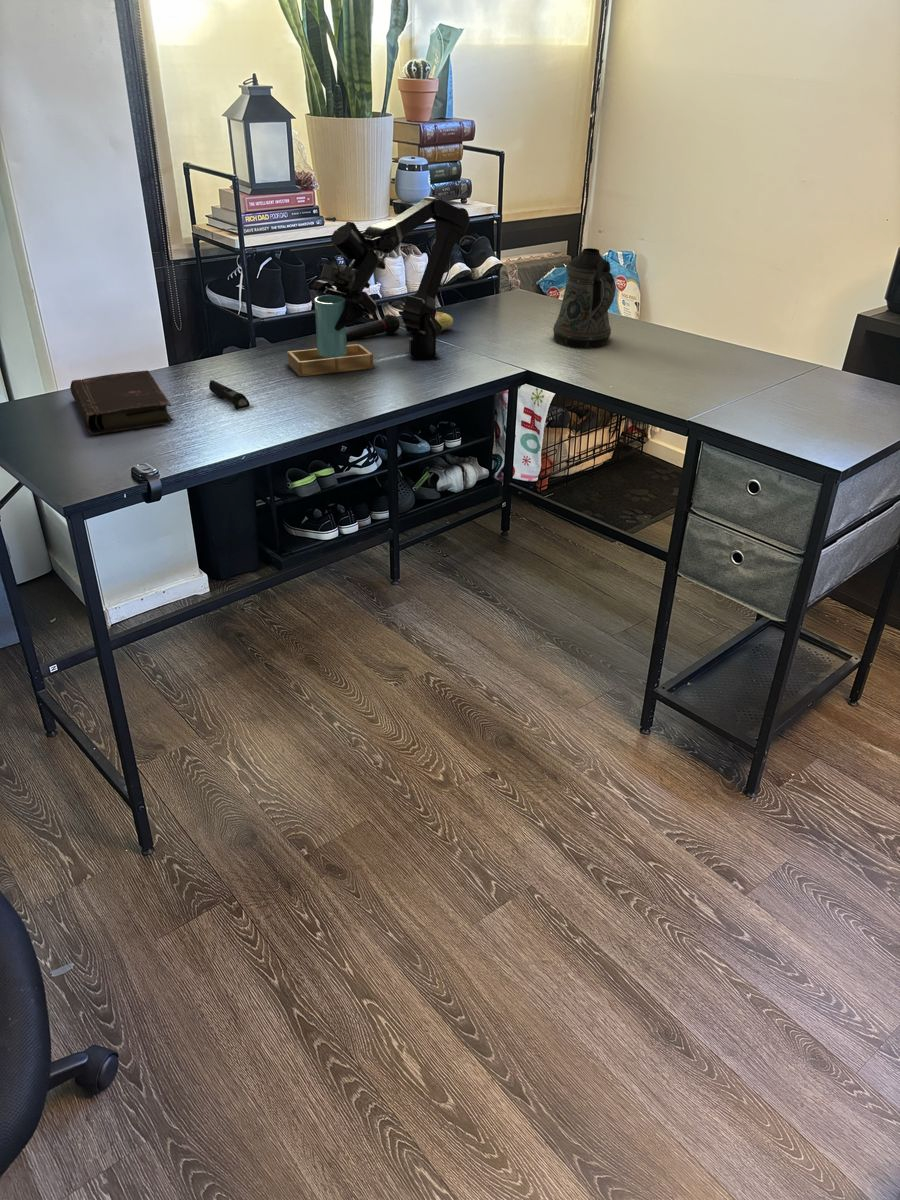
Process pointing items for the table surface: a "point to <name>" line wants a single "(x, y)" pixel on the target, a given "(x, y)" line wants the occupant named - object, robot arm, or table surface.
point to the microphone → (376, 328)
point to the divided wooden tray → (329, 361)
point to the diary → (120, 402)
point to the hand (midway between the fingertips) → (326, 326)
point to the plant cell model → (443, 320)
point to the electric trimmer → (229, 395)
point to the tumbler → (330, 326)
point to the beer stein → (586, 302)
